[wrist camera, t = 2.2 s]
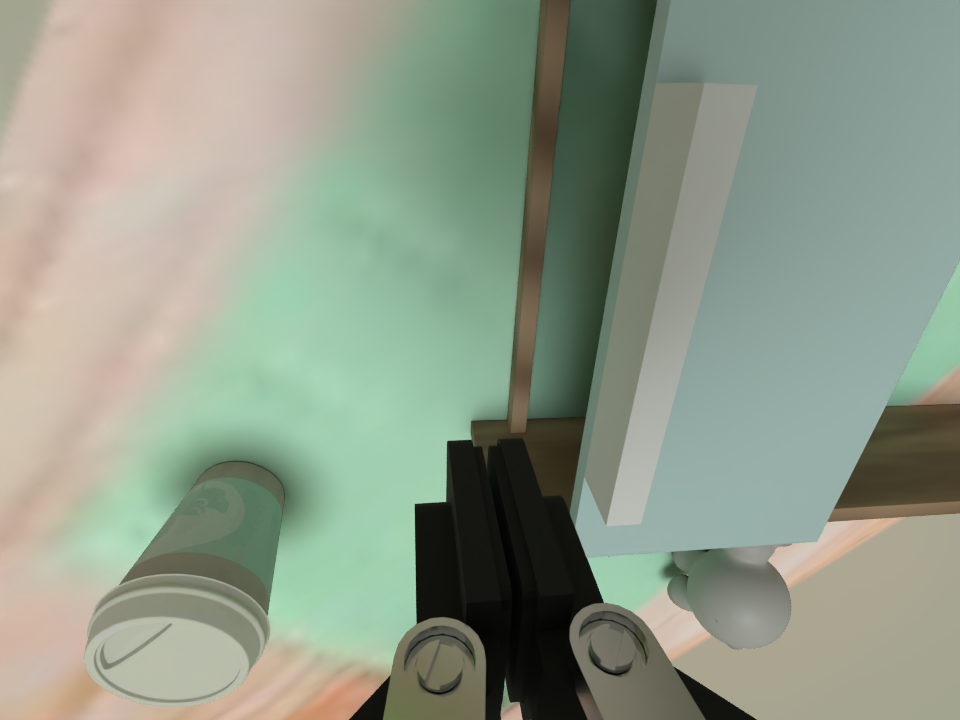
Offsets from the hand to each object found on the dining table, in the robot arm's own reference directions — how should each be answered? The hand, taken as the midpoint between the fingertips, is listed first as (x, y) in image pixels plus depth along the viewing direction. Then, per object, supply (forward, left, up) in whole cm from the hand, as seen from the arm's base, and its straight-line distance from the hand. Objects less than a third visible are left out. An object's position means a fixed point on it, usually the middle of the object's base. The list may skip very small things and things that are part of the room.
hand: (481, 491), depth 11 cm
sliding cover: (0, +13, -10) cm, 16 cm away
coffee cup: (+18, -14, -20) cm, 30 cm away
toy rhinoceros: (+24, +23, -20) cm, 39 cm away
